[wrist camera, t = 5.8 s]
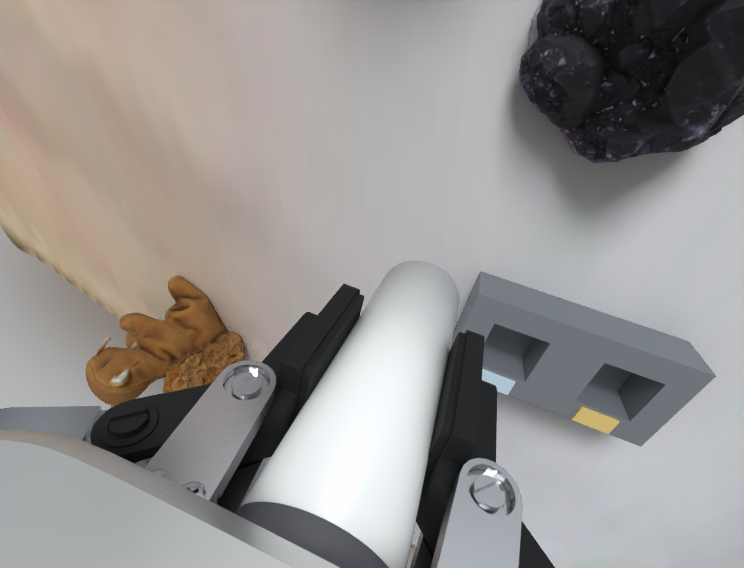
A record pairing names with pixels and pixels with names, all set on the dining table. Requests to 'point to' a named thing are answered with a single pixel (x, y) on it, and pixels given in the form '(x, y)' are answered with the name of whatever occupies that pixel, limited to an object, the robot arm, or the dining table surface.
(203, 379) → the stuffed squirrel
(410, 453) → the plug
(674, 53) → the black rock
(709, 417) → the dining table surface
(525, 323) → the socket block
